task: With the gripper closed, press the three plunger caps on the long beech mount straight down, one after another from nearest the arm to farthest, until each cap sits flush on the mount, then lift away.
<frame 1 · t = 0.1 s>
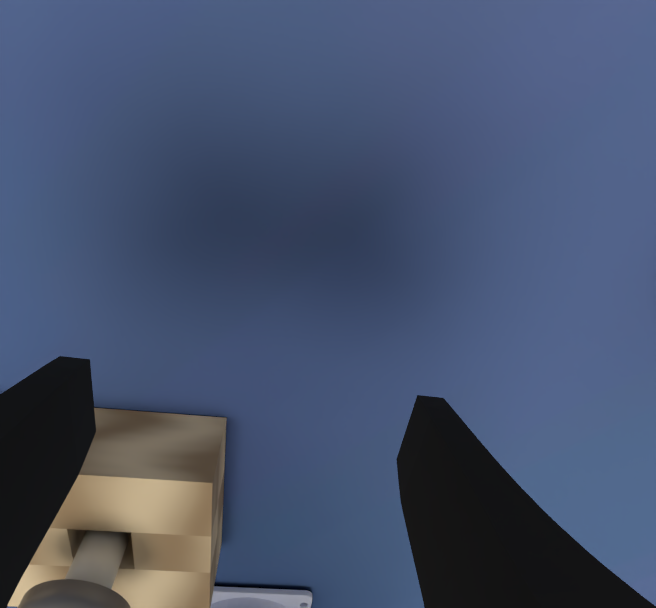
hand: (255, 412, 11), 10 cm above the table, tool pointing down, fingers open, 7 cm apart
plunger 1: (86, 587, 21), point 6 cm above the table, slide at 2.5 cm
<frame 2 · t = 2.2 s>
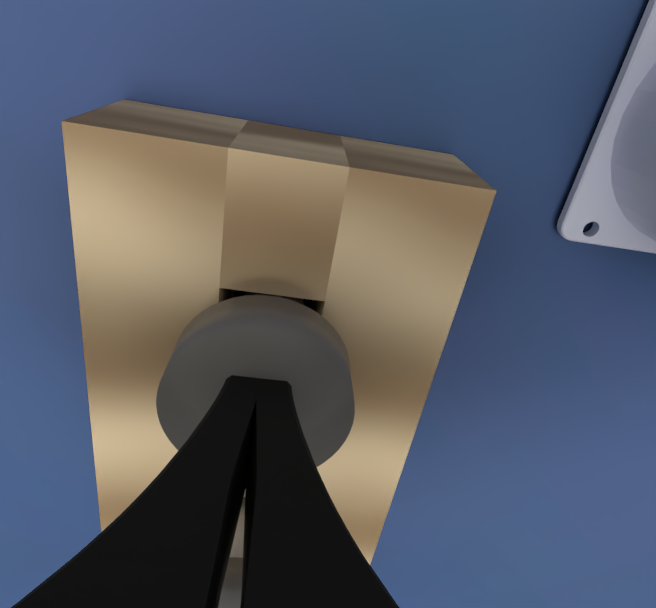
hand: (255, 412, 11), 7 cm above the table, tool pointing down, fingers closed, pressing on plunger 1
plunger 1: (265, 350, 13), point 5 cm above the table, slide at 1.3 cm, touching gripper
plunger 2: (237, 571, 16), point 6 cm above the table, slide at 2.5 cm
mount: (255, 441, 21), on the table
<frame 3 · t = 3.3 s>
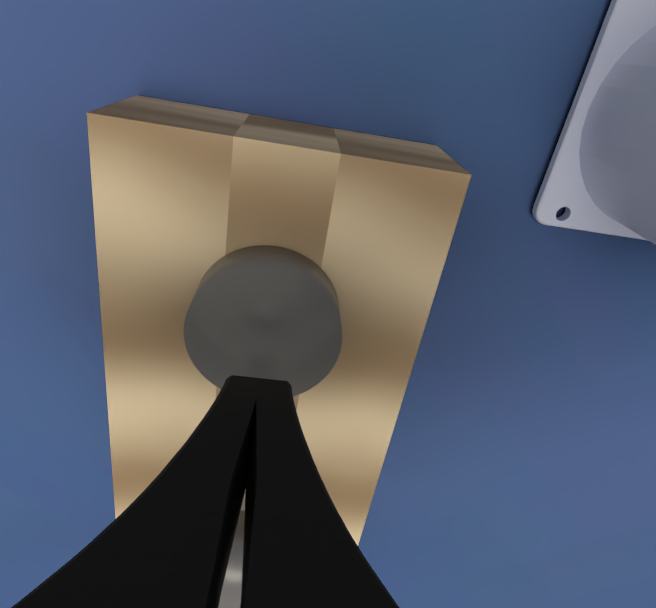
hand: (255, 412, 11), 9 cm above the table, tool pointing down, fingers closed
plunger 1: (269, 297, 16), point 3 cm above the table, slide at -0.1 cm
plunger 2: (241, 528, 17), point 6 cm above the table, slide at 2.5 cm
mount: (256, 416, 22), on the table
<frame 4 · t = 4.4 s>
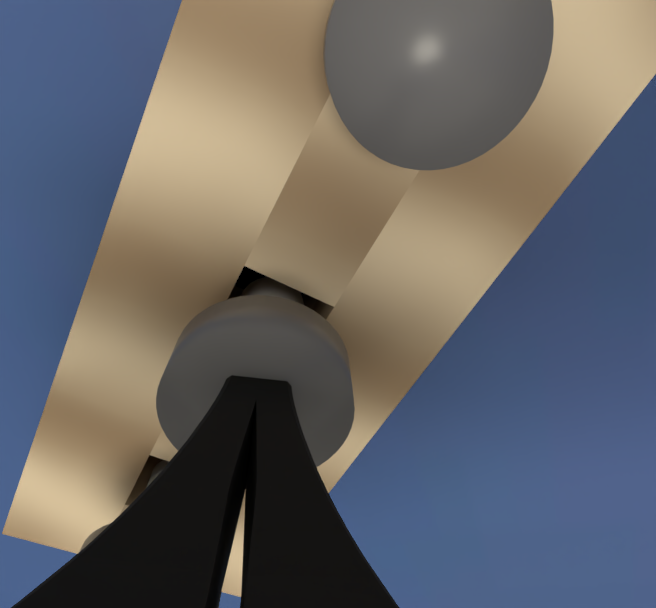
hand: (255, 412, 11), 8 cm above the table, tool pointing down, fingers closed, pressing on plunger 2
plunger 1: (414, 51, 11), point 3 cm above the table, slide at -0.1 cm
plunger 3: (161, 536, 16), point 6 cm above the table, slide at 2.5 cm
plunger 2: (265, 350, 13), point 5 cm above the table, slide at 2.1 cm, touching gripper
mount: (277, 267, 18), on the table
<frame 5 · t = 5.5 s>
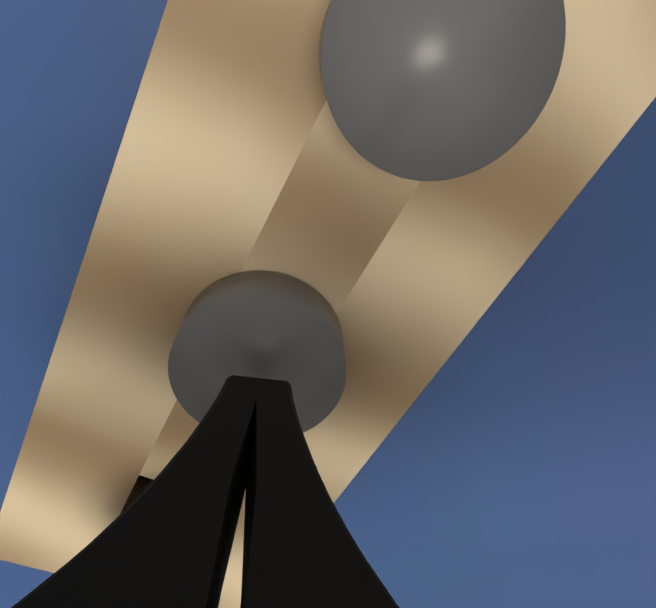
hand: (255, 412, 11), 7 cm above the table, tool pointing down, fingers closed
plunger 1: (415, 55, 11), point 3 cm above the table, slide at -0.1 cm
plunger 3: (151, 561, 15), point 6 cm above the table, slide at 2.5 cm
plunger 2: (265, 325, 14), point 3 cm above the table, slide at -0.1 cm
mount: (272, 277, 17), on the table
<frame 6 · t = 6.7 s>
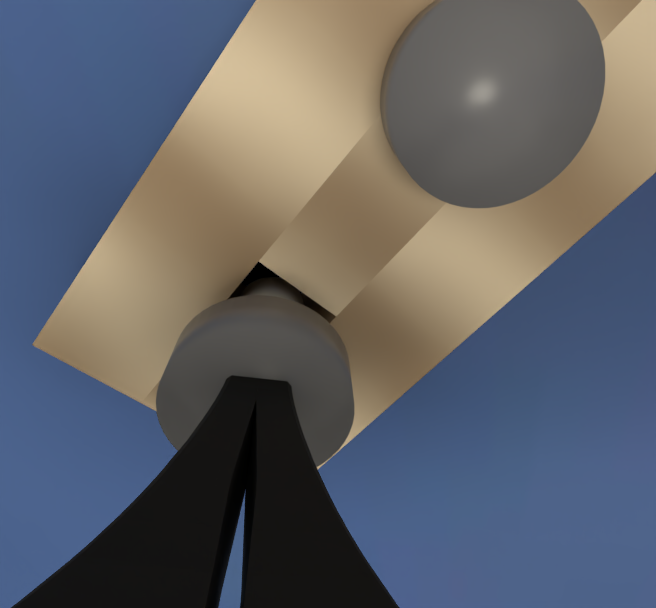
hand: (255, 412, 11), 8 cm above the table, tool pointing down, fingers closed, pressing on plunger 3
plunger 3: (265, 350, 13), point 5 cm above the table, slide at 2.2 cm, touching gripper
plunger 2: (463, 92, 12), point 3 cm above the table, slide at -0.1 cm
mount: (434, 81, 15), on the table
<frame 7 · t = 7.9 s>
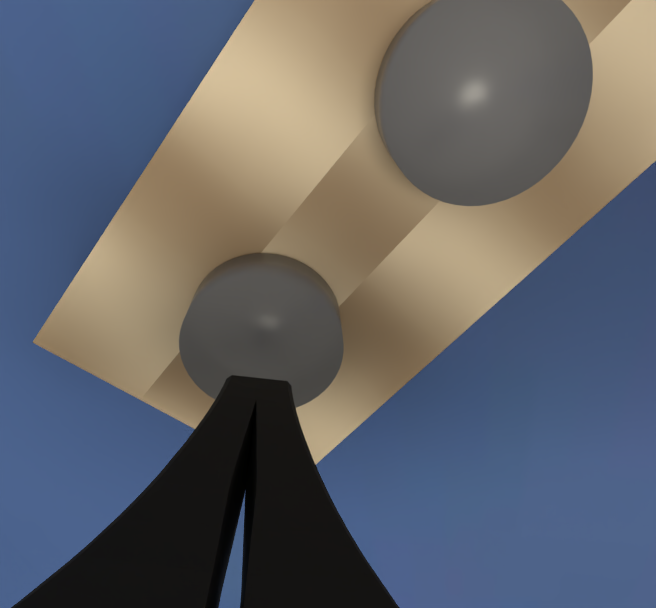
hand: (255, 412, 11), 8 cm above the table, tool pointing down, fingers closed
plunger 3: (268, 306, 15), point 3 cm above the table, slide at -0.1 cm
plunger 2: (455, 92, 12), point 3 cm above the table, slide at -0.1 cm
mount: (428, 82, 15), on the table
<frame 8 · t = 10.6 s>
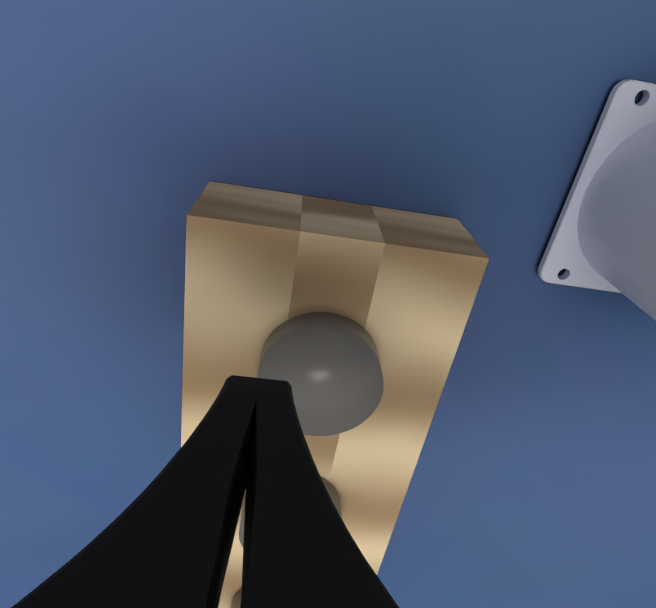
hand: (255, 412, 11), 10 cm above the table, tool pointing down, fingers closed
plunger 1: (319, 348, 19), point 3 cm above the table, slide at -0.1 cm
plunger 3: (274, 588, 26), point 3 cm above the table, slide at -0.1 cm
plunger 2: (292, 488, 23), point 3 cm above the table, slide at -0.1 cm
mount: (294, 439, 25), on the table
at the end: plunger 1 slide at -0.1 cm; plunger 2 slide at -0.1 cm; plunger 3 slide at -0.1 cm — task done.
